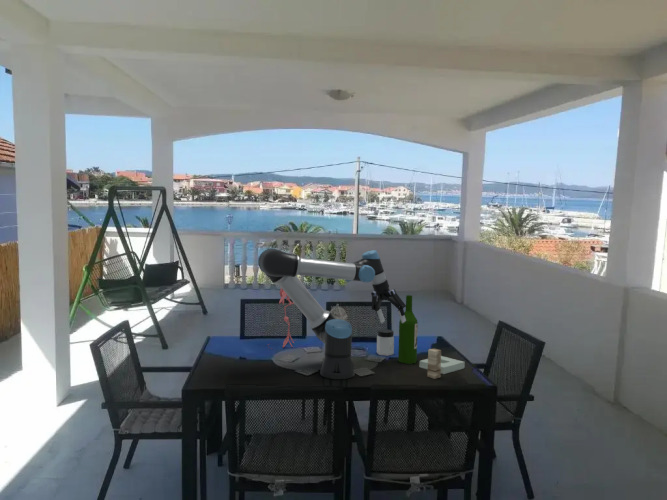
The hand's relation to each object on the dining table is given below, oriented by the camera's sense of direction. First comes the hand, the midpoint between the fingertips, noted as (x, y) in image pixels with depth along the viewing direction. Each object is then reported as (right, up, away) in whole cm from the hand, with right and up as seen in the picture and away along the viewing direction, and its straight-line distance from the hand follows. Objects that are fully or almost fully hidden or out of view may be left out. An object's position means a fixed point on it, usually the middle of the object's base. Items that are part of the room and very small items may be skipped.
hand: (393, 322), depth 237 cm
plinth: (+22, -20, -7) cm, 31 cm away
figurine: (-58, -17, +30) cm, 67 cm away
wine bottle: (+7, -20, +3) cm, 21 cm away
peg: (+15, -21, -22) cm, 34 cm away
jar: (-2, -19, +17) cm, 26 cm away
